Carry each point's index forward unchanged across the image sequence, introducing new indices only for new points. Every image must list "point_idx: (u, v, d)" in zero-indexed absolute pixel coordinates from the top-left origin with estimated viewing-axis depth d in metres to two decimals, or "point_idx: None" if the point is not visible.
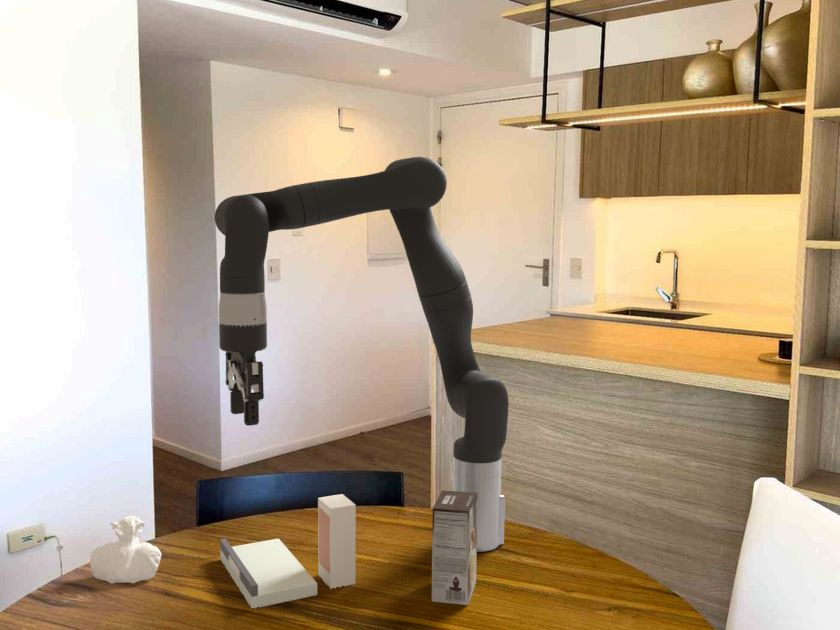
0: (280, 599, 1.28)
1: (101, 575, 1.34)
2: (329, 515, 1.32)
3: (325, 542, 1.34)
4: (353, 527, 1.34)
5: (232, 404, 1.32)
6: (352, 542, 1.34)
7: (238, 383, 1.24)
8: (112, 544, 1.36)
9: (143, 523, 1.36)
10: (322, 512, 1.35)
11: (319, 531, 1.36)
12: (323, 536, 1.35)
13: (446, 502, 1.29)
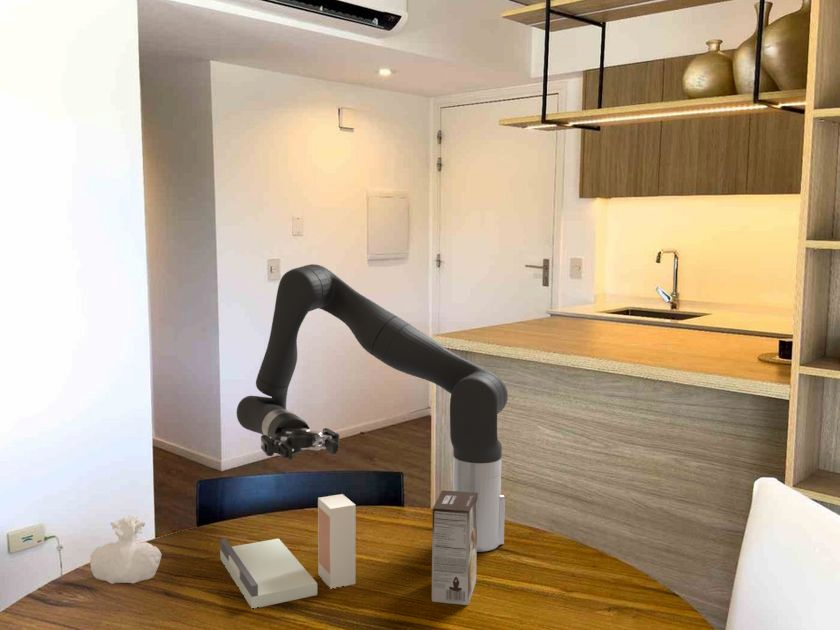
0: (280, 599, 1.28)
1: (101, 575, 1.34)
2: (329, 515, 1.32)
3: (325, 542, 1.34)
4: (353, 527, 1.33)
5: (329, 451, 1.48)
6: (352, 542, 1.34)
7: None
8: (112, 544, 1.36)
9: (143, 523, 1.36)
10: (322, 512, 1.35)
11: (319, 531, 1.36)
12: (323, 536, 1.35)
13: (446, 502, 1.29)
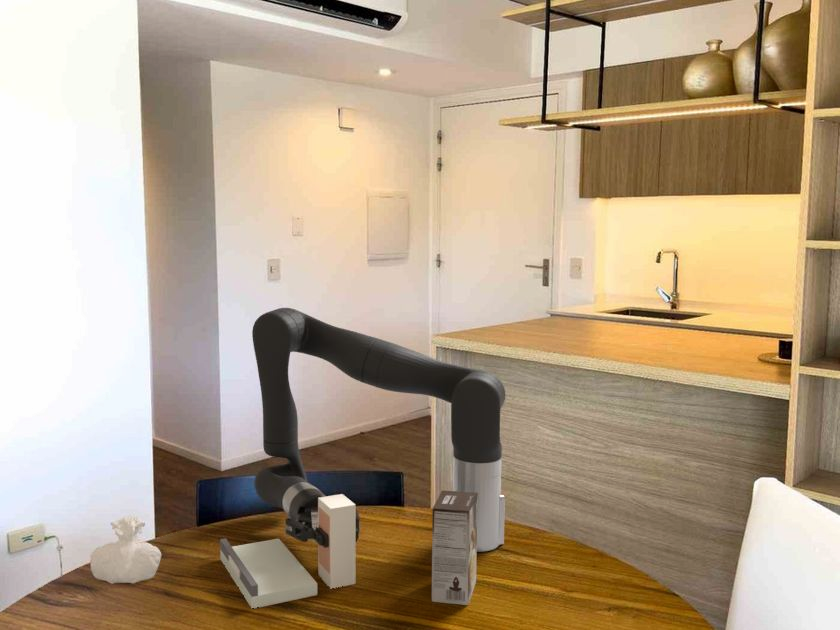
0: (280, 599, 1.28)
1: (101, 575, 1.34)
2: (329, 515, 1.32)
3: None
4: (353, 527, 1.33)
5: None
6: (352, 542, 1.34)
7: None
8: (112, 544, 1.36)
9: (143, 523, 1.36)
10: (322, 512, 1.35)
11: None
12: None
13: (446, 502, 1.29)
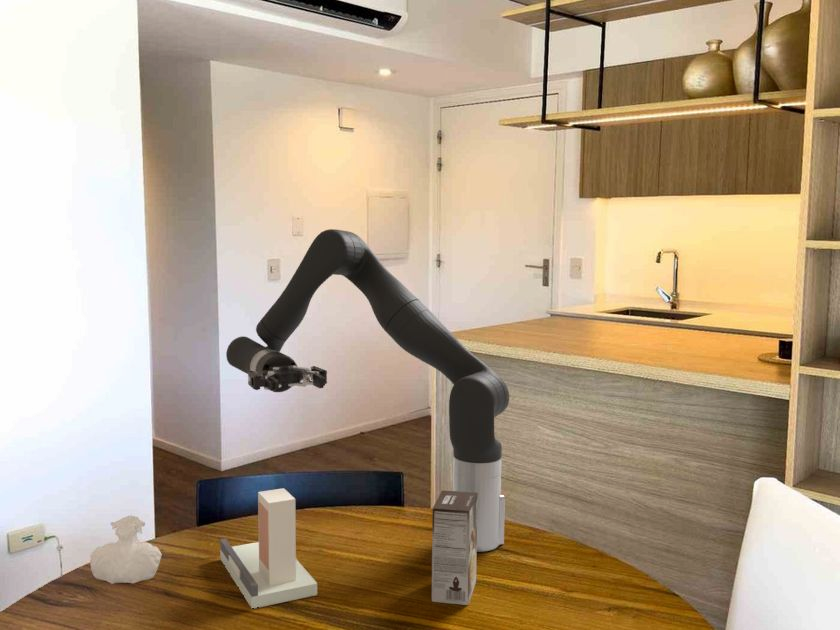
0: (280, 599, 1.28)
1: (101, 575, 1.34)
2: (267, 510, 1.28)
3: (264, 537, 1.30)
4: (293, 522, 1.30)
5: (316, 386, 1.47)
6: (292, 537, 1.30)
7: None
8: (112, 544, 1.36)
9: (143, 523, 1.36)
10: (261, 507, 1.31)
11: (259, 526, 1.33)
12: (262, 531, 1.31)
13: (446, 502, 1.29)
